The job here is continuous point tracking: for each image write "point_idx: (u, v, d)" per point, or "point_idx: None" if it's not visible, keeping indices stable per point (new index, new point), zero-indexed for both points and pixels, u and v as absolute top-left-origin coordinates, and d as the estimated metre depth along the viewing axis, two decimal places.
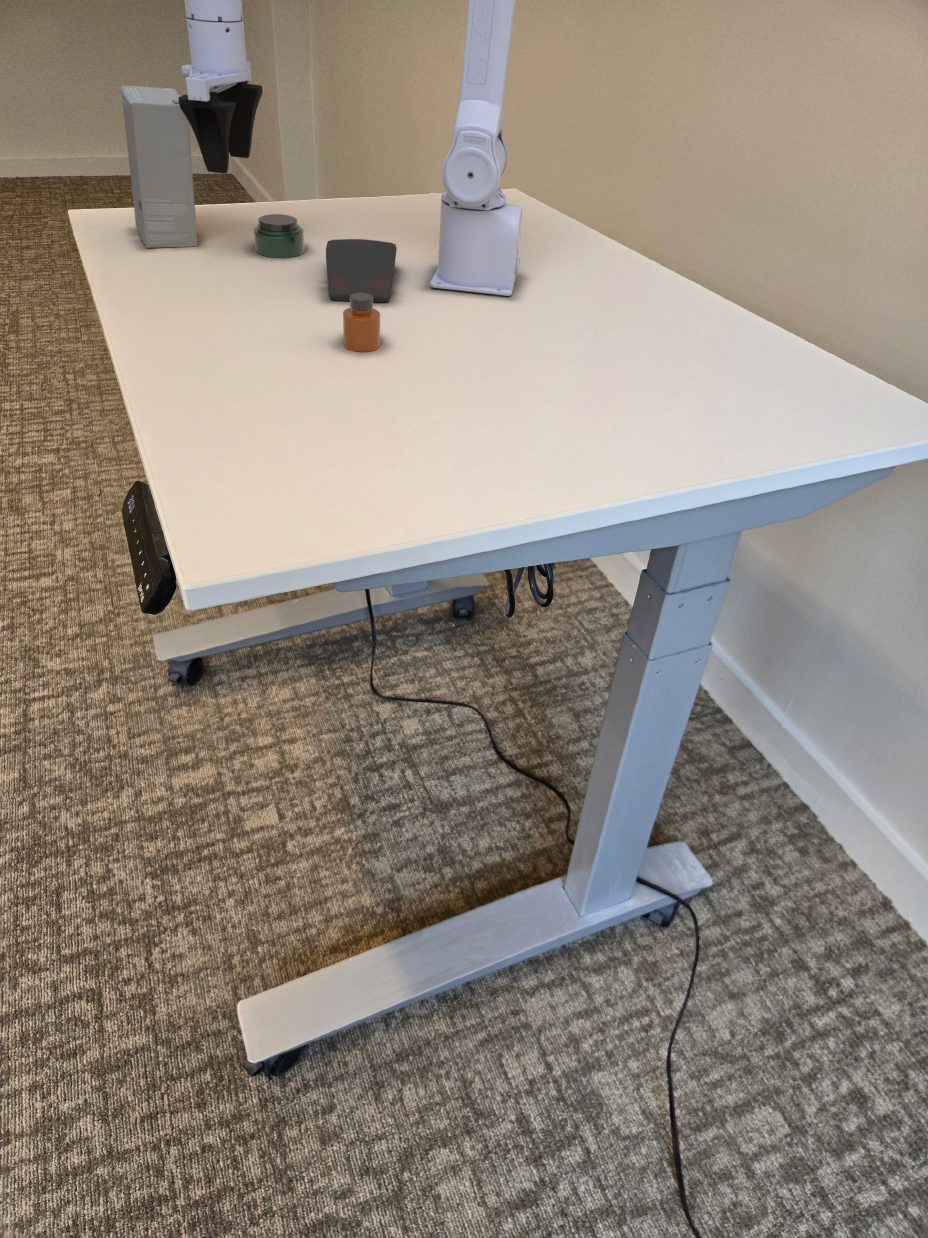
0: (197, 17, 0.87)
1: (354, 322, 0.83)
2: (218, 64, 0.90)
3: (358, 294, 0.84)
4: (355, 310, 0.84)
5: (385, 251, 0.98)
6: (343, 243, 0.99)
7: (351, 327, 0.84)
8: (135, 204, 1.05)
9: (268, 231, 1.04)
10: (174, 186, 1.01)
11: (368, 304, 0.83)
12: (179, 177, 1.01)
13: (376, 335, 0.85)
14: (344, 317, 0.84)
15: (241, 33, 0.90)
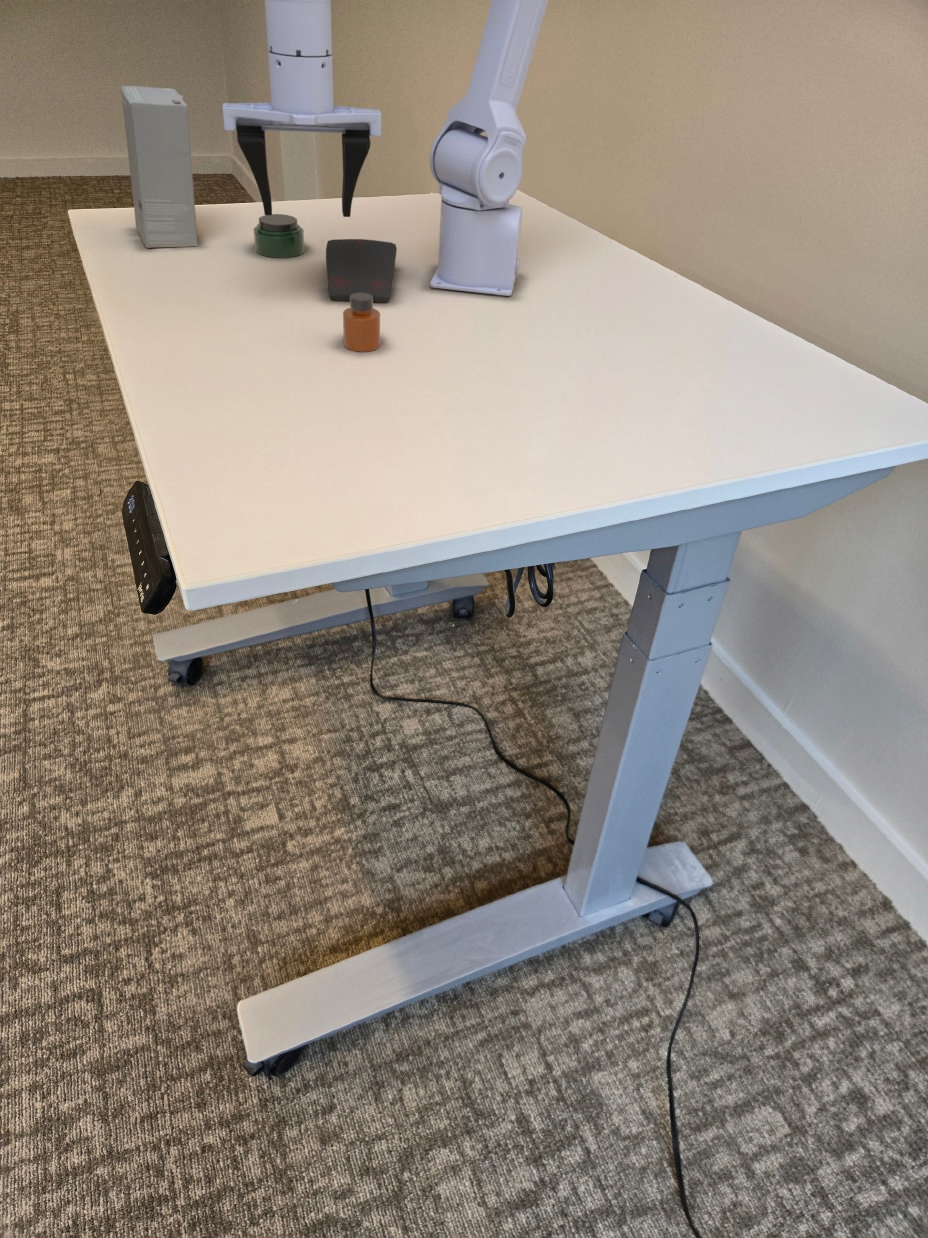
0: (306, 53, 0.76)
1: (354, 322, 0.83)
2: None
3: (358, 294, 0.84)
4: (355, 310, 0.84)
5: (385, 251, 0.98)
6: (343, 243, 0.99)
7: (351, 327, 0.84)
8: (135, 204, 1.05)
9: (268, 231, 1.04)
10: (174, 186, 1.01)
11: (368, 304, 0.83)
12: (179, 177, 1.01)
13: (376, 335, 0.85)
14: (344, 317, 0.84)
15: None
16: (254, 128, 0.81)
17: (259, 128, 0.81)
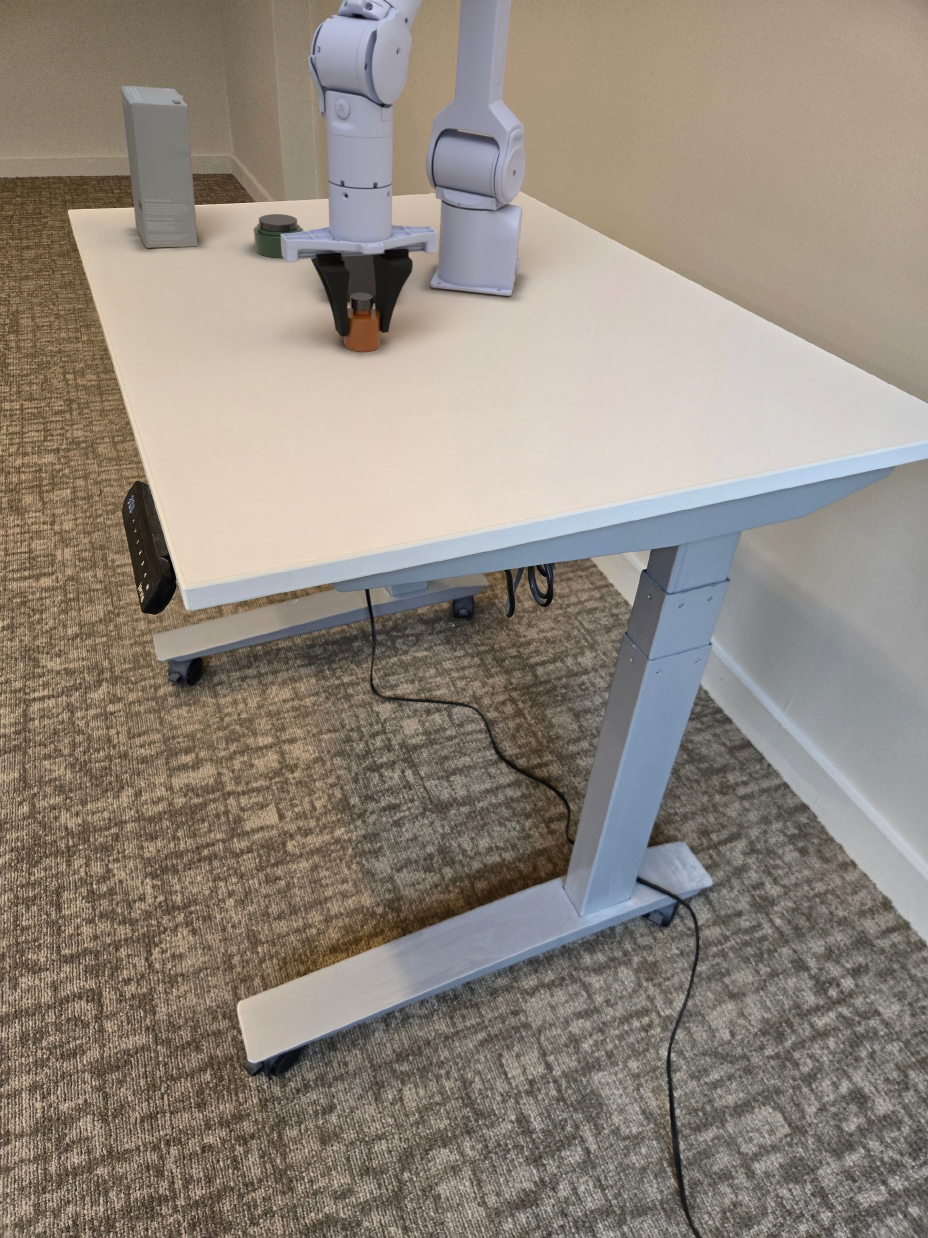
0: (381, 184, 0.75)
1: (354, 322, 0.83)
2: None
3: (359, 294, 0.84)
4: (355, 310, 0.84)
5: None
6: None
7: (352, 327, 0.84)
8: (135, 204, 1.05)
9: (268, 231, 1.04)
10: (174, 186, 1.01)
11: (368, 304, 0.83)
12: (179, 177, 1.01)
13: (376, 335, 0.85)
14: None
15: None
16: (334, 256, 0.79)
17: (320, 257, 0.79)
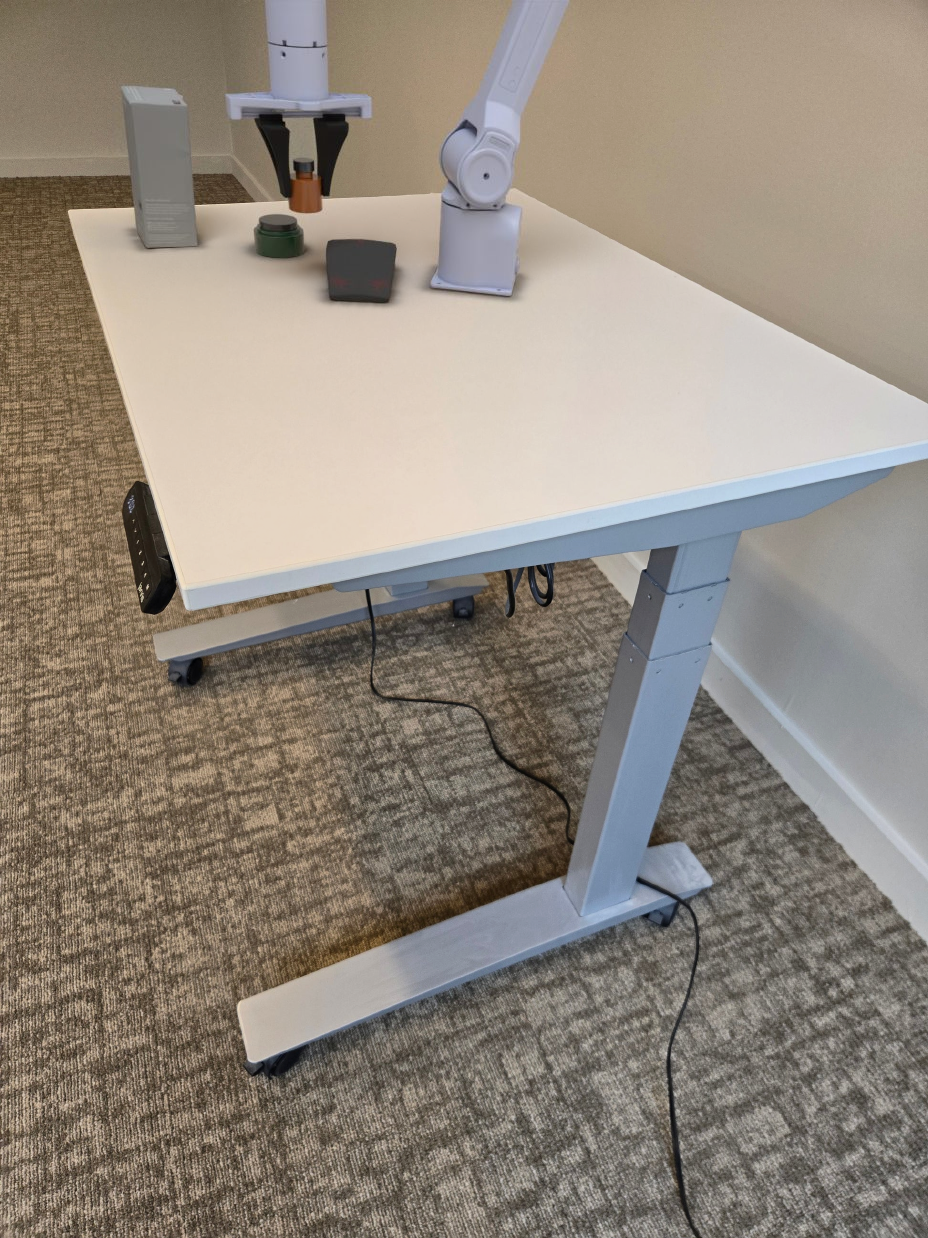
0: (291, 43, 0.82)
1: (296, 183, 0.91)
2: None
3: (301, 158, 0.91)
4: (298, 172, 0.91)
5: (385, 251, 0.98)
6: (343, 243, 0.99)
7: (294, 188, 0.91)
8: (135, 204, 1.05)
9: (268, 231, 1.04)
10: (174, 186, 1.01)
11: (309, 166, 0.91)
12: (179, 177, 1.01)
13: (318, 197, 0.92)
14: None
15: None
16: (276, 116, 0.87)
17: (263, 116, 0.86)
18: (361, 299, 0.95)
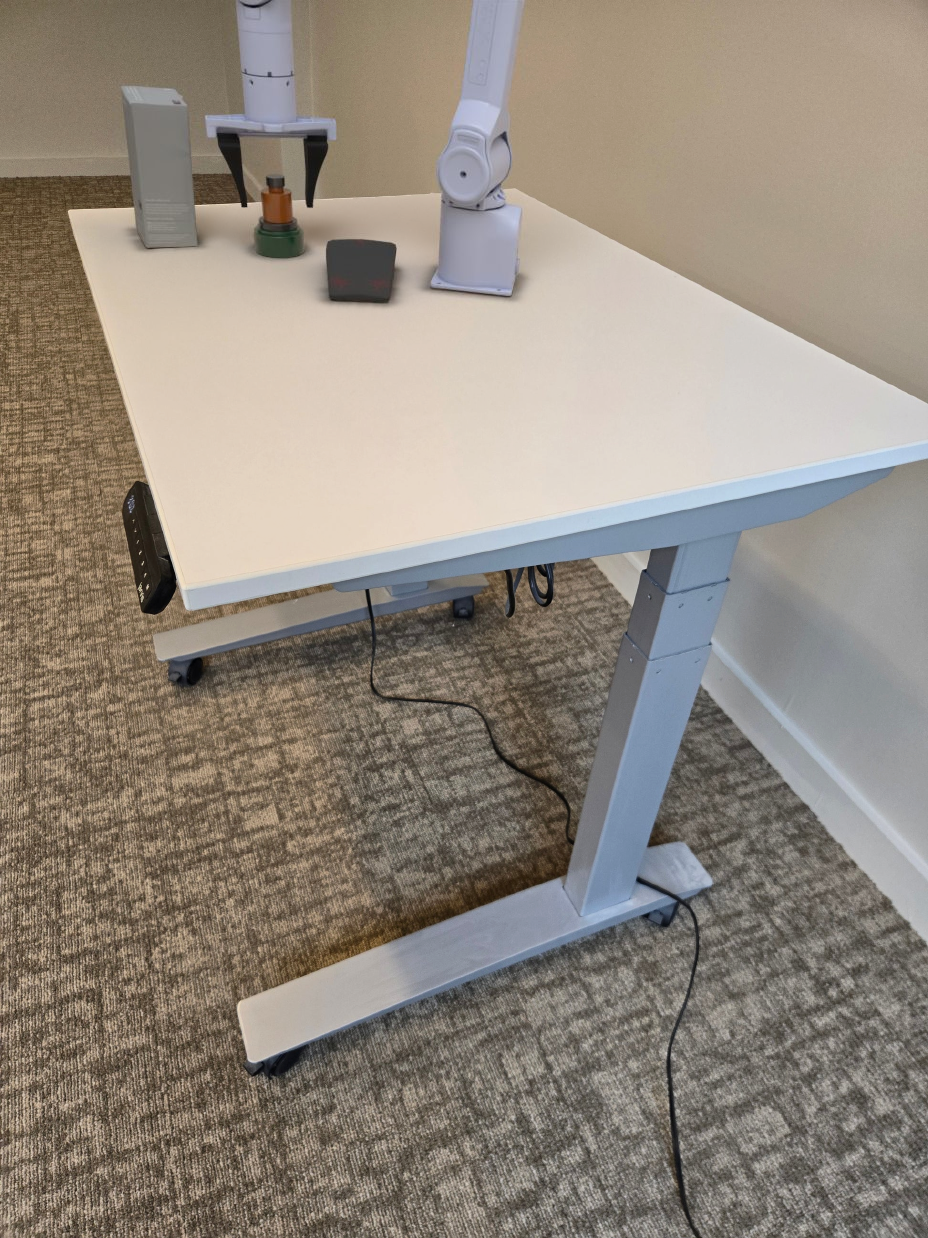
0: (249, 72, 0.93)
1: (267, 196, 1.02)
2: None
3: (274, 174, 1.03)
4: (269, 187, 1.02)
5: (385, 251, 0.98)
6: (343, 243, 0.99)
7: (265, 201, 1.03)
8: (135, 204, 1.05)
9: (268, 231, 1.04)
10: (174, 186, 1.01)
11: (279, 182, 1.02)
12: (179, 177, 1.01)
13: (286, 210, 1.03)
14: (261, 193, 1.03)
15: None
16: (231, 135, 0.98)
17: (235, 135, 0.98)
18: (361, 299, 0.95)
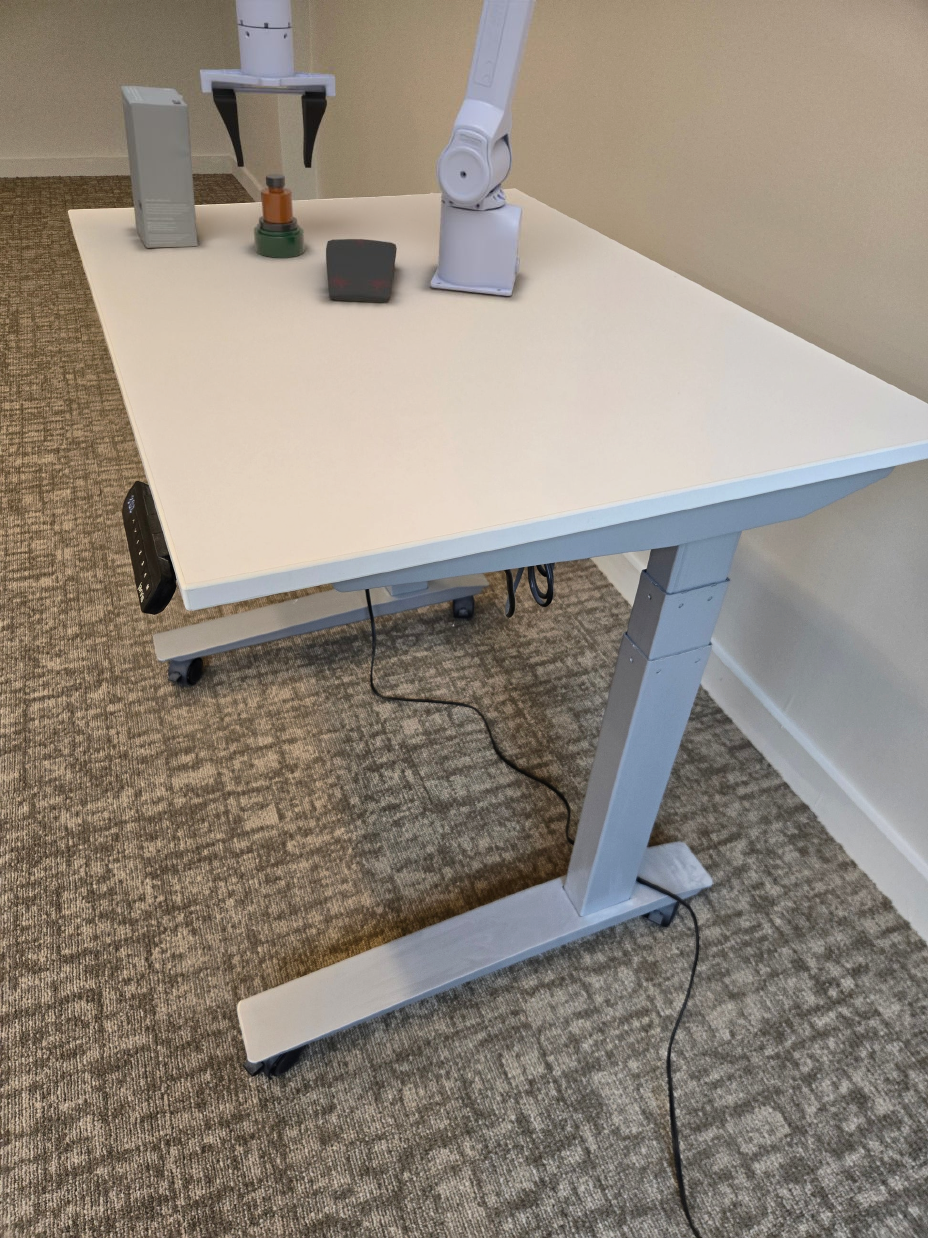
0: (245, 23, 0.91)
1: (267, 196, 1.02)
2: None
3: (274, 174, 1.03)
4: (269, 187, 1.02)
5: (385, 251, 0.98)
6: (343, 243, 0.99)
7: (265, 201, 1.03)
8: (135, 204, 1.05)
9: (268, 231, 1.04)
10: (174, 186, 1.01)
11: (279, 182, 1.02)
12: (179, 177, 1.01)
13: (286, 210, 1.03)
14: (261, 193, 1.03)
15: None
16: (227, 90, 0.95)
17: (231, 90, 0.95)
18: (361, 299, 0.95)
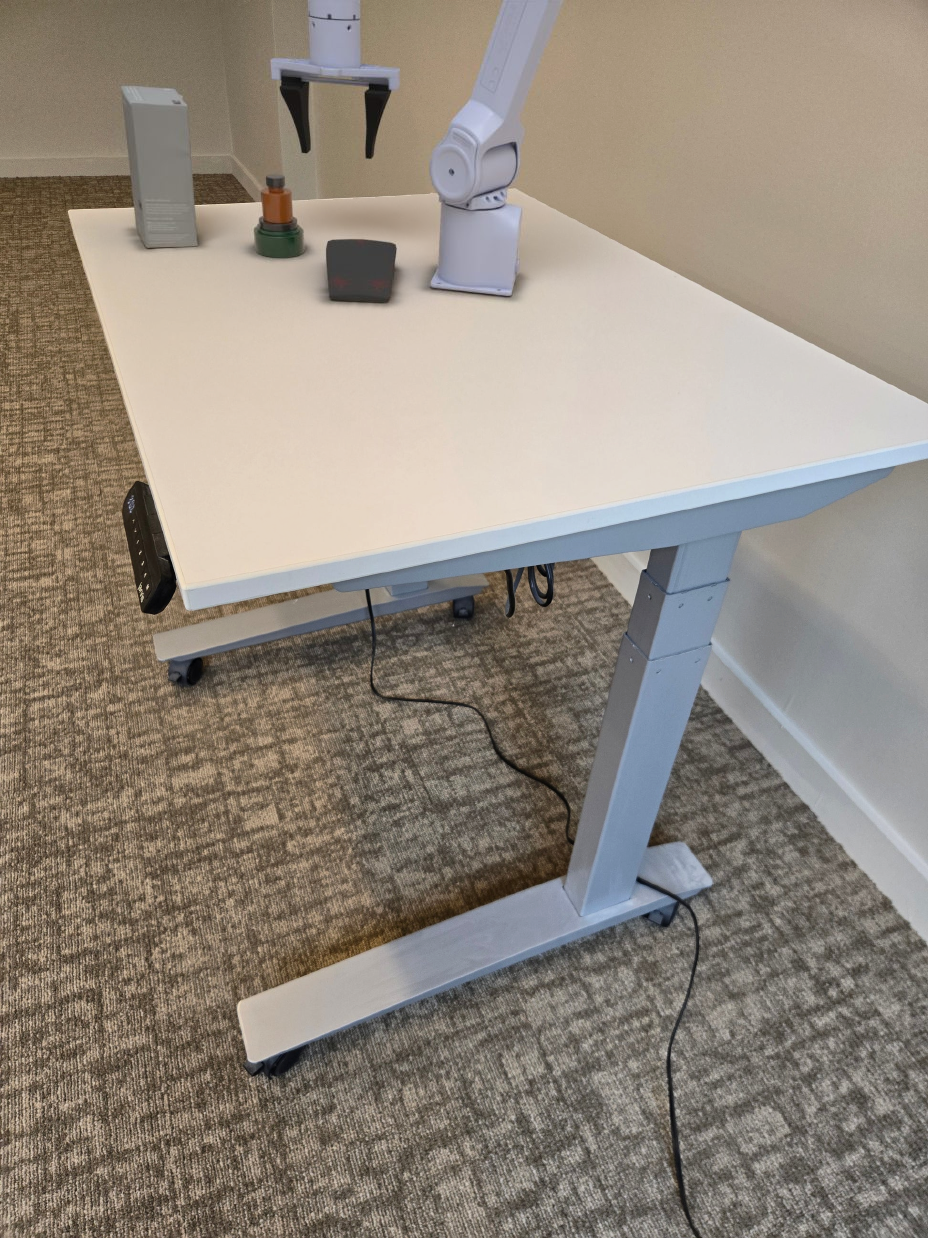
0: (312, 14, 0.94)
1: (267, 196, 1.02)
2: None
3: (274, 174, 1.03)
4: (269, 187, 1.02)
5: (385, 251, 0.98)
6: (343, 243, 0.99)
7: (265, 201, 1.03)
8: (135, 204, 1.05)
9: (268, 231, 1.04)
10: (174, 186, 1.01)
11: (279, 182, 1.02)
12: (179, 177, 1.01)
13: (286, 210, 1.03)
14: (261, 193, 1.03)
15: None
16: (295, 79, 0.99)
17: (299, 79, 0.99)
18: (361, 299, 0.95)
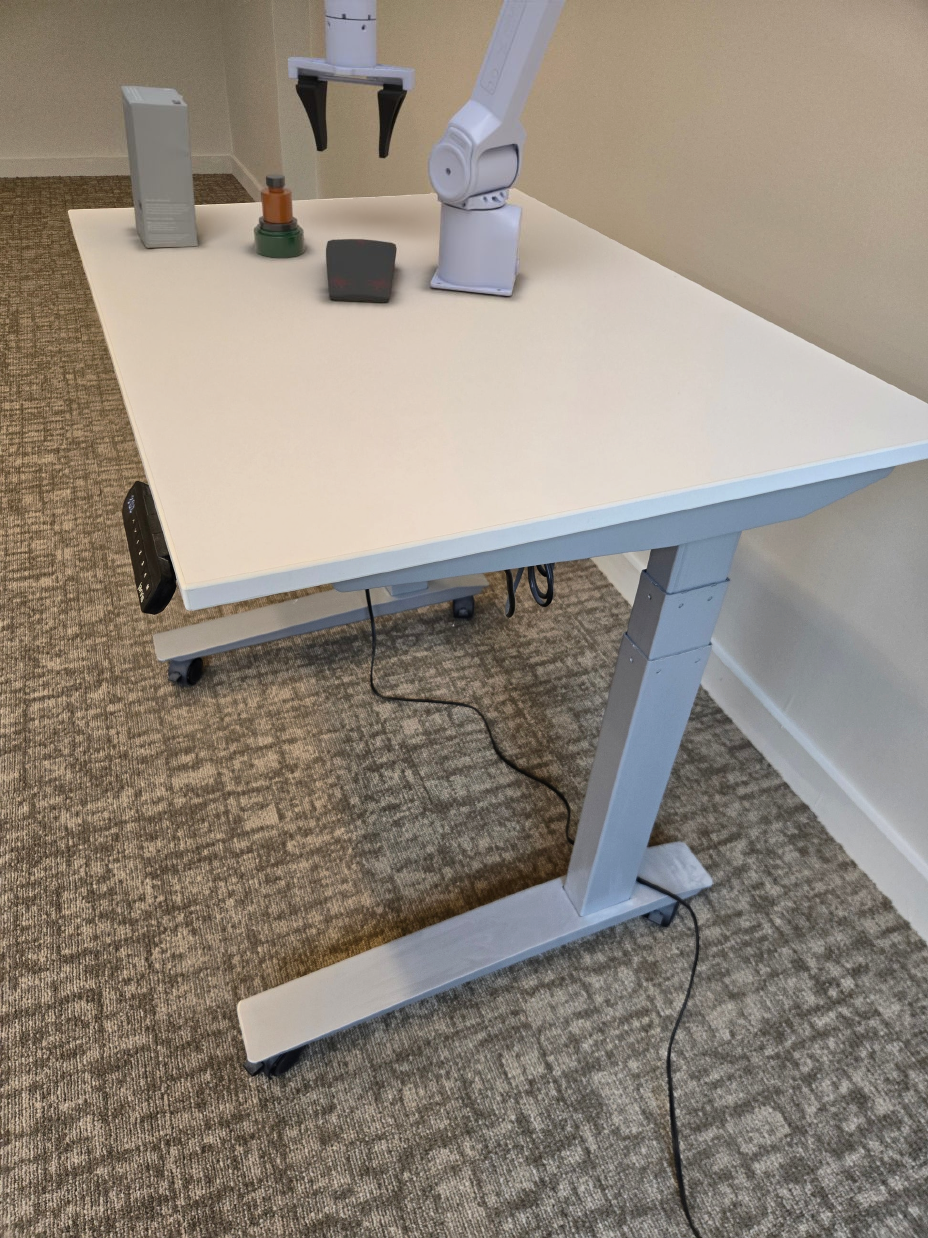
0: (327, 14, 0.95)
1: (267, 196, 1.02)
2: (376, 57, 0.99)
3: (274, 174, 1.03)
4: (269, 187, 1.02)
5: (385, 251, 0.98)
6: (343, 243, 0.99)
7: (265, 201, 1.03)
8: (135, 204, 1.05)
9: (268, 231, 1.04)
10: (174, 186, 1.01)
11: (279, 182, 1.02)
12: (179, 177, 1.01)
13: (286, 210, 1.03)
14: (261, 193, 1.03)
15: None
16: (311, 77, 1.00)
17: (315, 78, 1.00)
18: (361, 299, 0.95)
